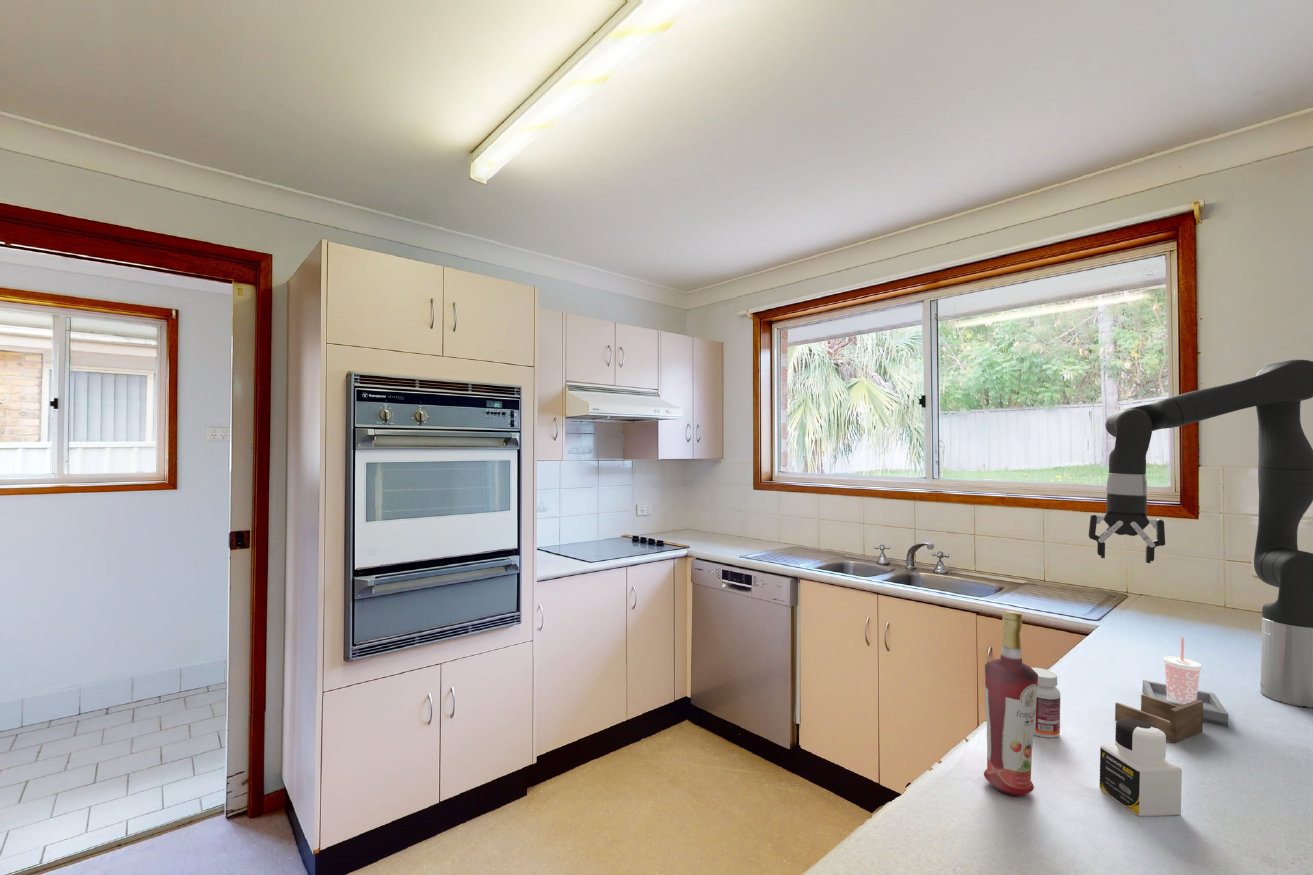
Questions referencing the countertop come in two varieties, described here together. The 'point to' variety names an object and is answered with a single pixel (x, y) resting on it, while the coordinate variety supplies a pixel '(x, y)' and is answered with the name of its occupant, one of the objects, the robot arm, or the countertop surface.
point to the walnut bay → (1166, 716)
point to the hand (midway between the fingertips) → (1125, 560)
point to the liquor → (1010, 713)
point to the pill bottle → (1047, 705)
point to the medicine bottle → (1140, 770)
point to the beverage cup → (1181, 678)
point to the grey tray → (1211, 704)
